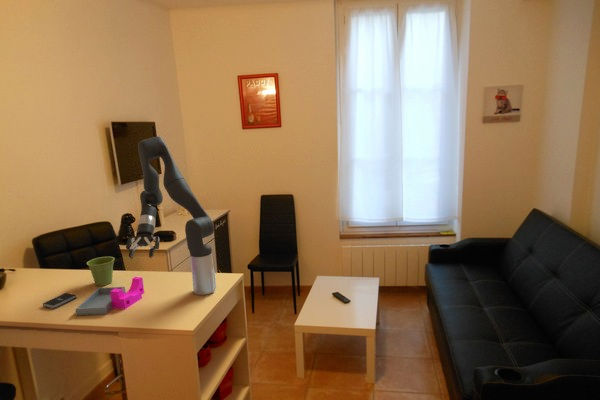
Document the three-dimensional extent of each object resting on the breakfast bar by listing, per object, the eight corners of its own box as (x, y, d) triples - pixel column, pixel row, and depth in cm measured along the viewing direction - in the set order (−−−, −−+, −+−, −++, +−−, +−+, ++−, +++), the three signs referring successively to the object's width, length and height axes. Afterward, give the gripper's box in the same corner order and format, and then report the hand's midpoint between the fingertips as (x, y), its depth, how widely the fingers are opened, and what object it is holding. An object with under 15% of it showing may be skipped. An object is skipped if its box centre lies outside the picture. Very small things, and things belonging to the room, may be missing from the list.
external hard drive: (42, 308, 164) (41, 303, 163) (66, 296, 174) (66, 292, 173) (54, 310, 161) (53, 306, 161) (78, 298, 171) (77, 294, 171)
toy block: (125, 309, 159) (122, 292, 158) (112, 308, 161) (110, 291, 159) (149, 293, 173) (147, 277, 172) (137, 292, 175) (135, 276, 173)
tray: (125, 292, 174) (124, 286, 174) (106, 314, 155) (105, 307, 155) (98, 294, 174) (98, 288, 173) (76, 316, 155) (75, 309, 154)
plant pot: (123, 281, 188) (119, 258, 186) (99, 290, 178) (95, 267, 176) (108, 276, 194) (105, 254, 192) (84, 285, 185) (81, 262, 182)
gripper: (128, 223, 183) (121, 254, 174) (159, 221, 184) (154, 253, 175) (133, 231, 190) (127, 262, 181) (163, 229, 190) (159, 260, 181)
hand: (140, 257), depth 178 cm, fingers open, 8 cm apart
